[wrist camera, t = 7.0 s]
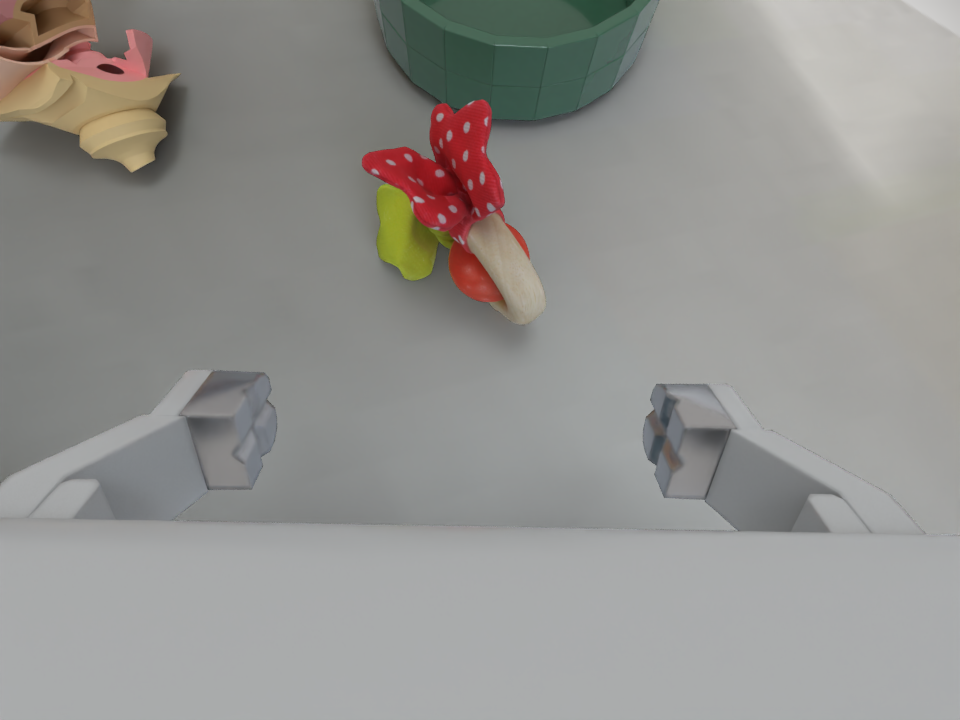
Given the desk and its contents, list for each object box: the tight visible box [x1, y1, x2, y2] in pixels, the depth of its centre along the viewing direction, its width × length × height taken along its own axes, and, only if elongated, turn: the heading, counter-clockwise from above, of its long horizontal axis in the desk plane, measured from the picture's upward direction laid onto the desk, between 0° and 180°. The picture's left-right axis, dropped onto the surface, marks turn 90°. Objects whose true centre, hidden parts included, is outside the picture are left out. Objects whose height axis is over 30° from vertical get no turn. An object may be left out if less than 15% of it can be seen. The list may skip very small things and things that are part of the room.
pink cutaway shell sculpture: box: [0, 0, 181, 172], centre depth 26 cm, size 9×10×10 cm
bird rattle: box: [362, 100, 546, 325], centre depth 23 cm, size 6×11×9 cm
